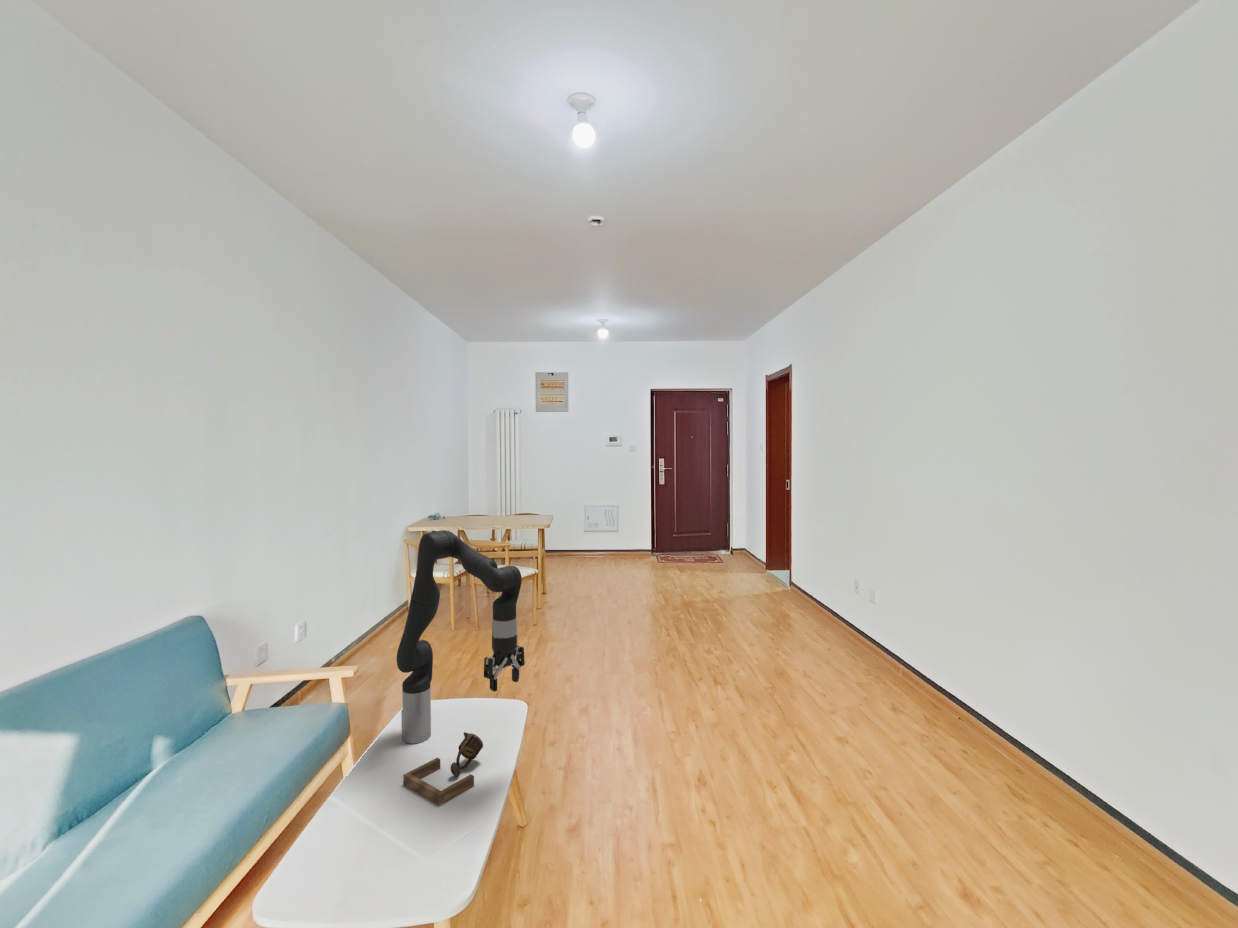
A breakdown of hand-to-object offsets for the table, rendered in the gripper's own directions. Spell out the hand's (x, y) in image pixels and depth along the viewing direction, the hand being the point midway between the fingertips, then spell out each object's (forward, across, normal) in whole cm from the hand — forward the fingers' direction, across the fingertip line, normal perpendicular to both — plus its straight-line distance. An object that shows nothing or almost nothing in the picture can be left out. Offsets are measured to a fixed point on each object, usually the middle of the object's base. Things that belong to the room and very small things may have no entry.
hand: (504, 685), depth 177 cm
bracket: (+28, +13, -13) cm, 33 cm away
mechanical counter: (+28, +4, -13) cm, 31 cm away
